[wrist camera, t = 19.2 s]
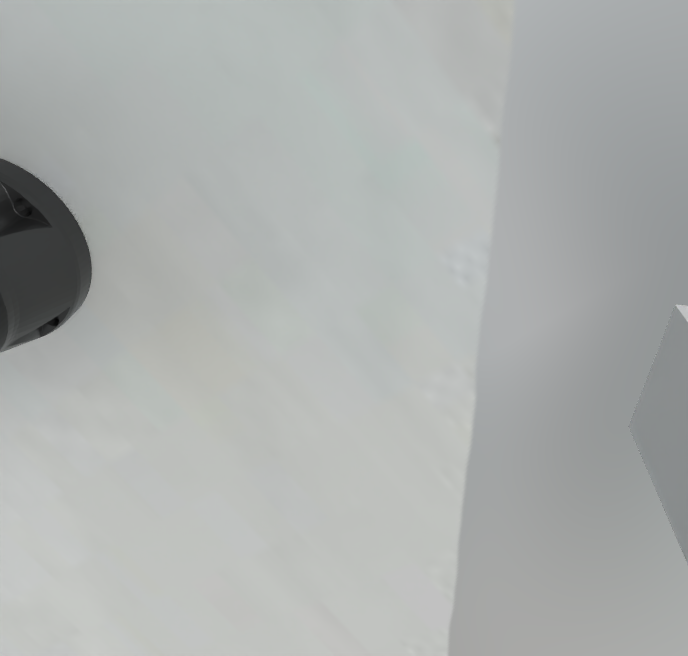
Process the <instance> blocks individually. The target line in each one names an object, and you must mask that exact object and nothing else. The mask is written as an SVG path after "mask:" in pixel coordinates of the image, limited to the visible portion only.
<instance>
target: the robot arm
mask: <svg viewBox="0 0 688 656" xmlns="http://www.w3.org/2000/svg"><path fill="white" fill-rule="evenodd" d="M91 271H92V268H91V259H90V253H89V249H88V246H87V243H86V240H85V237H84V235H83V233H82V231H81V229H80V227H79V225H78V223H77V221H76V220H75V218H74V216H73V215H72V214H71V212H70V211H69V209H68V208H67V207H66V205H65V204H64V203H63V202H62V201H61V200H60V198H59V197H58V196H57V195H56V194H55V193H54V192H53V191H52V190H51V189H50V188H48V187H47V186H46V185H45V184H44V183H43V182H41V181H40V180H39V179H37V178H36V177H35V176H33V175H32V174H30V173H29V172H27V171H25V170H24V169H22V168H20V167H18V166H16V165H14V164H12V163H10V162H8V161H5V160H3V159H0V352H3V351H6V350H8V349H11V348H14V347H16V346H19V345H21V344H24V343H27V342H29V341H32V340H35V339H37V338H40V337H42V336H45V335H47V334H49V333H51V332H53V331H54V330H56V329H57V328H59V327H60V326H61V325H63V324H64V323H65V322H66V321H67V320H68V319H69V318H70V317H71V316H72V315H73V314H74V313H75V312H76V311H77V310H78V309H79V307H80V306H81V305H82V303H83V302H84V300H85V298H86V296H87V293H88V291H89V287H90V283H91ZM629 428H630V431H631V433H632V435H633V438H634V440H635V442H636V445H637V447H638V449H639V452H640V454H641V456H642V459H643V461H644V463H645V466H646V468H647V470H648V473H649V475H650V477H651V480H652V482H653V484H654V486H655V489H656V491H657V494H658V496H659V498H660V501H661V503H662V505H663V508H664V510H665V512H666V515H667V517H668V519H669V521H670V524H671V526H672V529H673V531H674V533H675V536H676V538H677V540H678V543H679V545H680V547H681V550H682V552H683V554H684V556H685V559H686V561H687V563H688V306H683V305H675V307H674V309H673V312H672V315H671V317H670V320H669V322H668V325H667V328H666V330H665V333H664V336H663V338H662V341H661V343H660V346H659V349H658V351H657V354H656V357H655V359H654V362H653V364H652V367H651V370H650V372H649V375H648V377H647V380H646V383H645V385H644V388H643V391H642V393H641V396H640V398H639V401H638V404H637V406H636V409H635V411H634V414H633V417H632V419H631V422H630V425H629Z"/></svg>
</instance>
